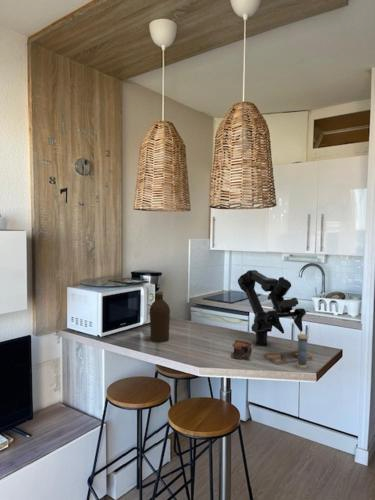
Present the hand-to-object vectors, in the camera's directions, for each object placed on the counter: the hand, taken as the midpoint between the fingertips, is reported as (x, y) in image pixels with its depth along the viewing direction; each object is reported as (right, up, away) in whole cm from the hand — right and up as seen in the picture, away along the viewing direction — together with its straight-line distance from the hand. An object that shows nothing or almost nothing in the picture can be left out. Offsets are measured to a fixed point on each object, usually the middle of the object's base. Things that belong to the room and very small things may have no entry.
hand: (292, 332), depth 158 cm
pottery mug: (-21, -13, +6) cm, 25 cm away
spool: (+2, -13, -6) cm, 14 cm away
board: (-1, -12, +4) cm, 13 cm away
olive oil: (-60, -12, +33) cm, 69 cm away
